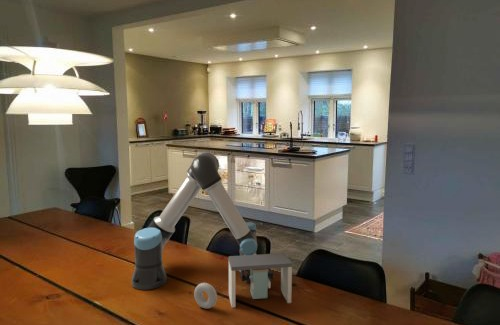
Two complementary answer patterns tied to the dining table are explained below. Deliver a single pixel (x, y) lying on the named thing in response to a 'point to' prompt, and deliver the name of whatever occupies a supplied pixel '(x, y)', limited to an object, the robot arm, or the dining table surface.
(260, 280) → the pale teal block
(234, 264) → the stand
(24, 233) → the dining table surface
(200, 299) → the donut
